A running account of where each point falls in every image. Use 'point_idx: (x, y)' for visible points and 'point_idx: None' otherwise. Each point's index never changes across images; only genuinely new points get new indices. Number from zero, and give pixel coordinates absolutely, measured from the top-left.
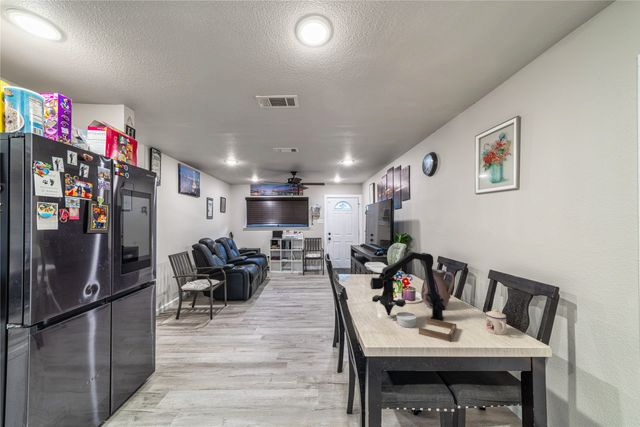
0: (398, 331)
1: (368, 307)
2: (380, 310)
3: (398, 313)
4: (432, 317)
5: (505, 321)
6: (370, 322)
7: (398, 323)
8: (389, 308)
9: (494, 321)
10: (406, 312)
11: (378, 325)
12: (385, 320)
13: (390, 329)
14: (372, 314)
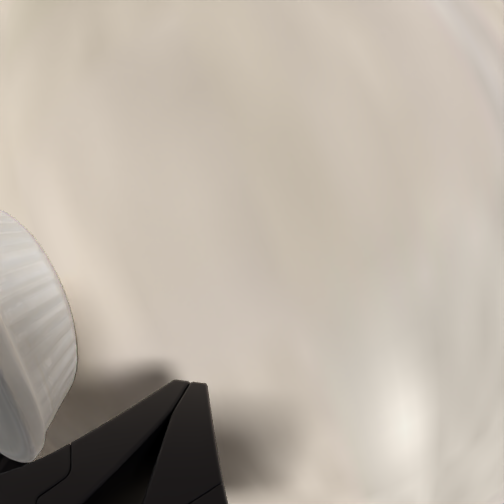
0: (14, 60)
1: (492, 474)
2: (400, 500)
3: (3, 402)
4: (21, 464)
5: None
6: (448, 81)
7: (30, 242)
8: (41, 493)
9: None
10: (3, 451)
11: (284, 21)
12: (268, 310)
13: (84, 27)
14: (482, 393)
